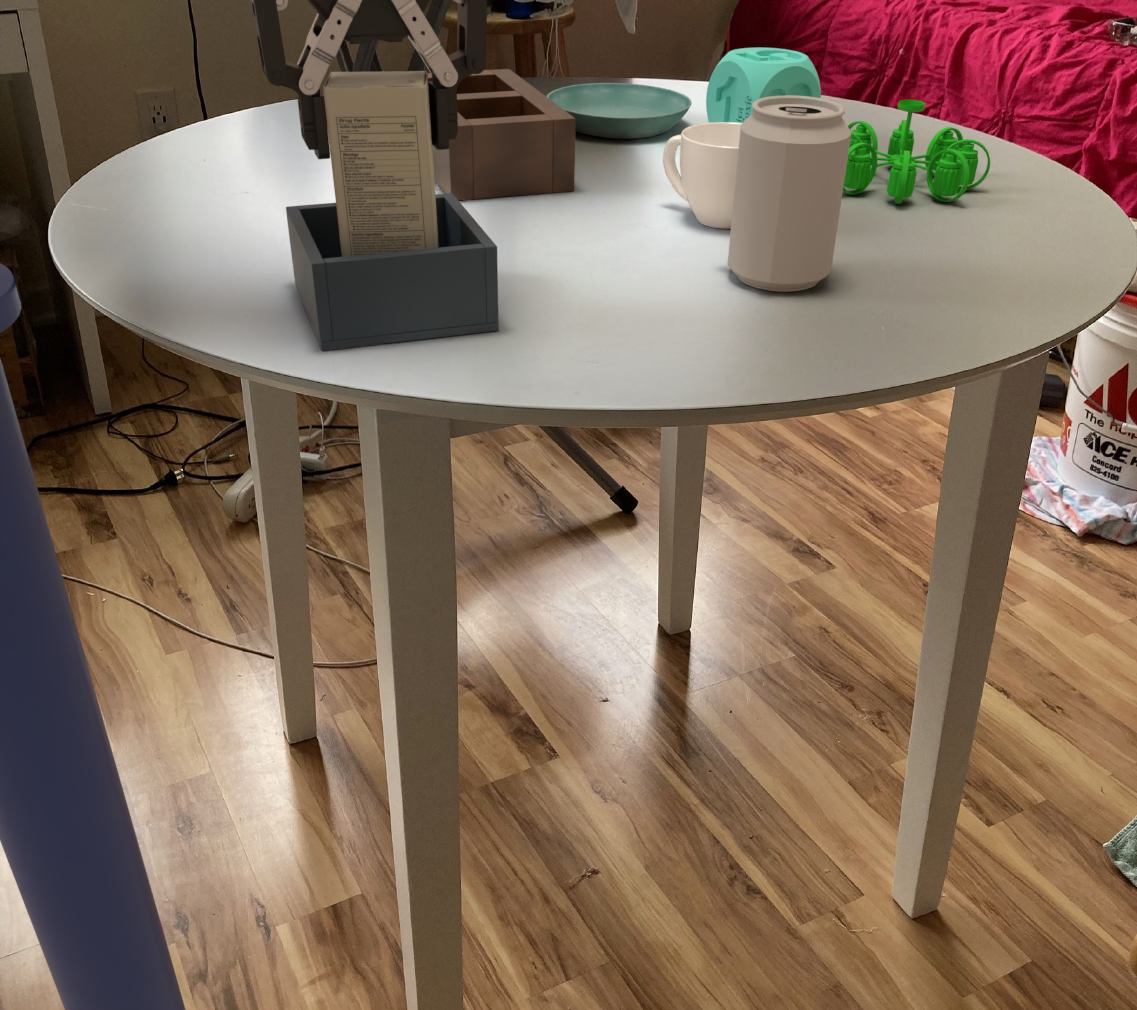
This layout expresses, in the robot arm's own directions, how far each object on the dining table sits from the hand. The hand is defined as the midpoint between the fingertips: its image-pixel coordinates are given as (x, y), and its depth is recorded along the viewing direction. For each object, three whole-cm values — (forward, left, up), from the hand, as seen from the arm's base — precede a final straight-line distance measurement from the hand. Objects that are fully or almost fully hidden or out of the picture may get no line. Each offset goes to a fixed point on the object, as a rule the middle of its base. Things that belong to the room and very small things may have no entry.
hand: (381, 150), depth 74 cm
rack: (+15, +32, -10) cm, 37 cm away
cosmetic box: (0, 0, -8) cm, 8 cm away
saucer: (+32, +42, -10) cm, 54 cm away
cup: (+29, +12, -10) cm, 33 cm away
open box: (0, 0, -10) cm, 10 cm away
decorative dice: (+43, +32, -10) cm, 55 cm away
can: (+28, -2, -10) cm, 30 cm away
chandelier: (+49, +16, -10) cm, 53 cm away
